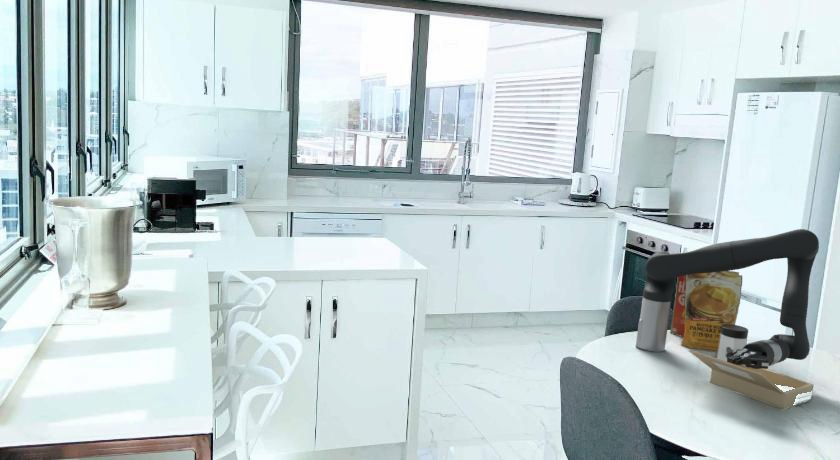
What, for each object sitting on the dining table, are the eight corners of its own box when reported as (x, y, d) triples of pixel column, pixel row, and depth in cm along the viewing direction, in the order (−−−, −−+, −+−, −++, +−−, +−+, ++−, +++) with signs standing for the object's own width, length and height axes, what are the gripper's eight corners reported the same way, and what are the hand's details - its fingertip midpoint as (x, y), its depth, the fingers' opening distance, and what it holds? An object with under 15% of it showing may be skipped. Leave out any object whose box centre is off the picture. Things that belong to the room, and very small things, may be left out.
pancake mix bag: (674, 341, 249) (685, 264, 245) (731, 349, 245) (743, 271, 241) (677, 346, 243) (688, 268, 239) (735, 354, 239) (747, 274, 235)
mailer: (738, 374, 218) (740, 360, 217) (811, 399, 200) (813, 384, 199) (709, 382, 208) (712, 367, 207) (783, 409, 191) (786, 393, 190)
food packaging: (668, 333, 260) (677, 267, 256) (678, 329, 267) (687, 265, 263) (704, 342, 251) (714, 274, 247) (714, 338, 258) (723, 272, 254)
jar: (749, 365, 228) (754, 329, 227) (736, 369, 223) (742, 332, 221) (722, 356, 235) (727, 322, 233) (710, 360, 230) (715, 325, 228)
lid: (689, 349, 197) (688, 351, 197) (761, 373, 181) (760, 375, 181) (713, 367, 207) (712, 369, 207) (784, 392, 190) (783, 394, 190)
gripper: (741, 334, 206) (709, 341, 195) (787, 348, 195) (755, 356, 185) (738, 359, 207) (706, 367, 196) (783, 373, 196) (751, 383, 186)
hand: (730, 362), depth 191 cm, fingers closed
